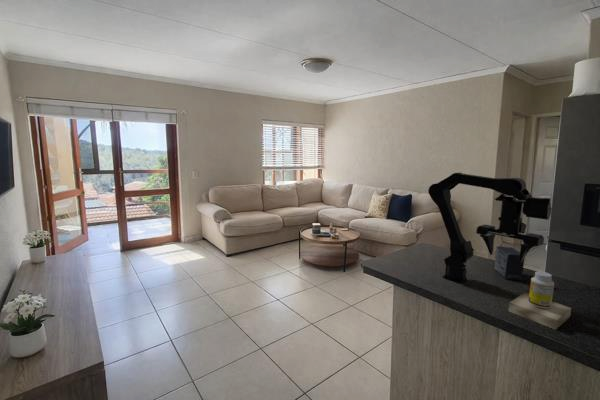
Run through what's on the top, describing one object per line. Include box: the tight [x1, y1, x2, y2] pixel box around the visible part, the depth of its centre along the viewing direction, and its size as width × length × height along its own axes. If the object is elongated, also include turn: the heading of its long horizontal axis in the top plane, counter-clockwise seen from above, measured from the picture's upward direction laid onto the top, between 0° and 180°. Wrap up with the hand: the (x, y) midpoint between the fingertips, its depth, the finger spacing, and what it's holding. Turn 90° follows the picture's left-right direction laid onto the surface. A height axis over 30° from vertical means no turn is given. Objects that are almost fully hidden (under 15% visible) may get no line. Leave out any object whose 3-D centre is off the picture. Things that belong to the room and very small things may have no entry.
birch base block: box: [507, 292, 572, 330], centre depth 93 cm, size 12×12×3 cm
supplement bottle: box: [528, 270, 555, 309], centre depth 92 cm, size 6×6×10 cm
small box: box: [493, 245, 526, 281], centre depth 122 cm, size 11×6×10 cm, turn 168°
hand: (505, 258), depth 105 cm, fingers open, 9 cm apart
